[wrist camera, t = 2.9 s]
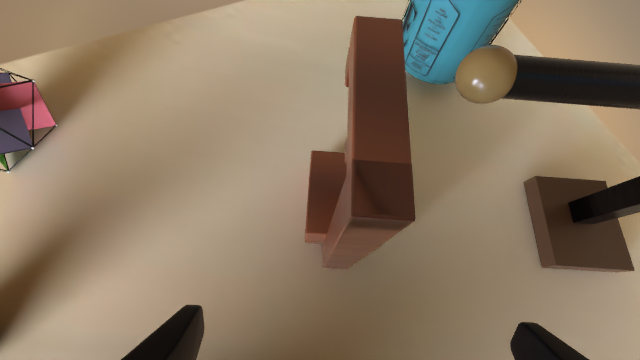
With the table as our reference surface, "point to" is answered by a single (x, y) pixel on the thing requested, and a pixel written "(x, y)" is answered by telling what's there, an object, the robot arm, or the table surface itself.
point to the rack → (562, 193)
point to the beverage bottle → (448, 34)
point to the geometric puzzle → (20, 115)
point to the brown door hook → (366, 153)
